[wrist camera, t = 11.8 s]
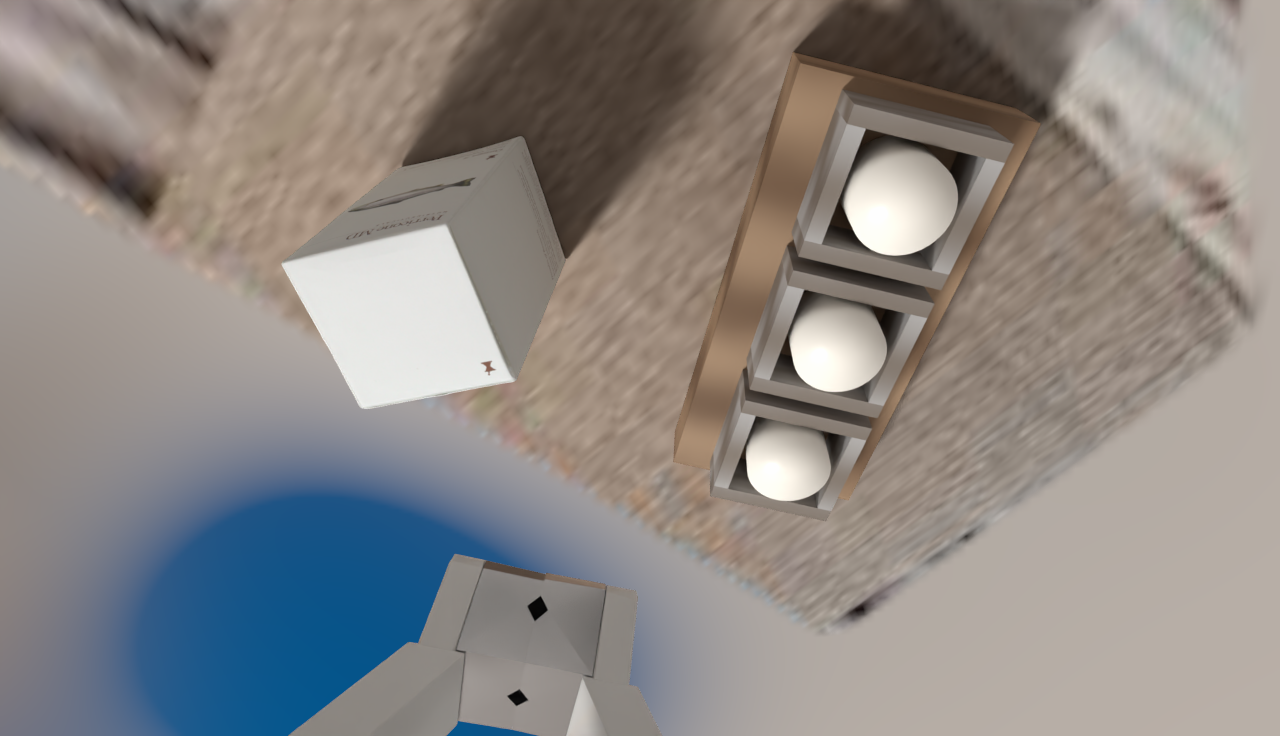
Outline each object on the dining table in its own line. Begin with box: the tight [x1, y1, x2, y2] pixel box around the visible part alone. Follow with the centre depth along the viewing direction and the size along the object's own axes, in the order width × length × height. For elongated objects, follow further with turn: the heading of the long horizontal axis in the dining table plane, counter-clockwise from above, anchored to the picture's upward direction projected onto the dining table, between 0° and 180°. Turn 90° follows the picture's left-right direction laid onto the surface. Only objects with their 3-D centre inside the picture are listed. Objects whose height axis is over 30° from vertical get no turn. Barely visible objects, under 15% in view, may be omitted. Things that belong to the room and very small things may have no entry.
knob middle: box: [787, 291, 887, 392], centre depth 36 cm, size 4×4×3 cm
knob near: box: [839, 135, 958, 256], centre depth 32 cm, size 4×4×3 cm
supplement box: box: [282, 136, 566, 409], centre depth 34 cm, size 7×7×13 cm
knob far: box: [745, 416, 831, 501], centre depth 40 cm, size 4×4×3 cm
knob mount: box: [673, 52, 1041, 521], centre depth 37 cm, size 23×11×6 cm, turn 168°
